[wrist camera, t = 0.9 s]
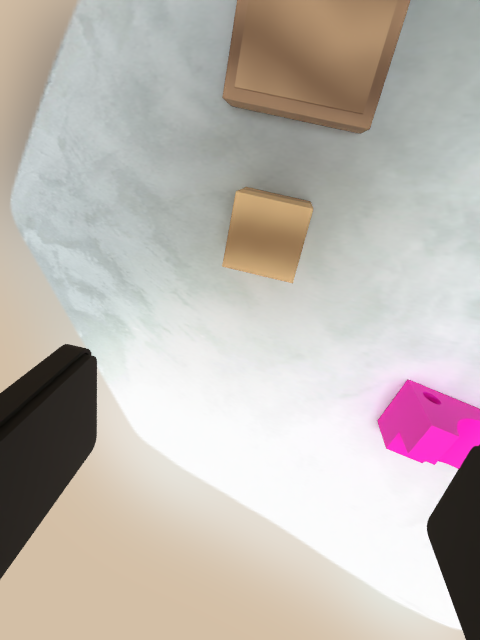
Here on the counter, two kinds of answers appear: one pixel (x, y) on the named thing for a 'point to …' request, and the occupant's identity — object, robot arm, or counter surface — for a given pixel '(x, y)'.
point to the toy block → (430, 426)
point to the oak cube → (267, 233)
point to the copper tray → (313, 58)
